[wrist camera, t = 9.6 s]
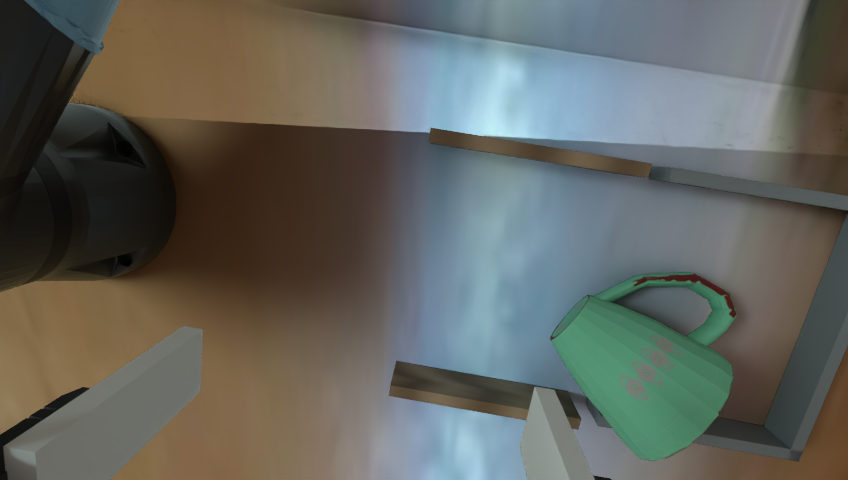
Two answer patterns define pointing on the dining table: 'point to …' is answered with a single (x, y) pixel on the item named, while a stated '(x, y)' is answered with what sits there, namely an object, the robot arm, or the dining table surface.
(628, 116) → the dining table surface
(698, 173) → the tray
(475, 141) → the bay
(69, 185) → the robot arm
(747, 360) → the dining table surface
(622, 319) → the mug
